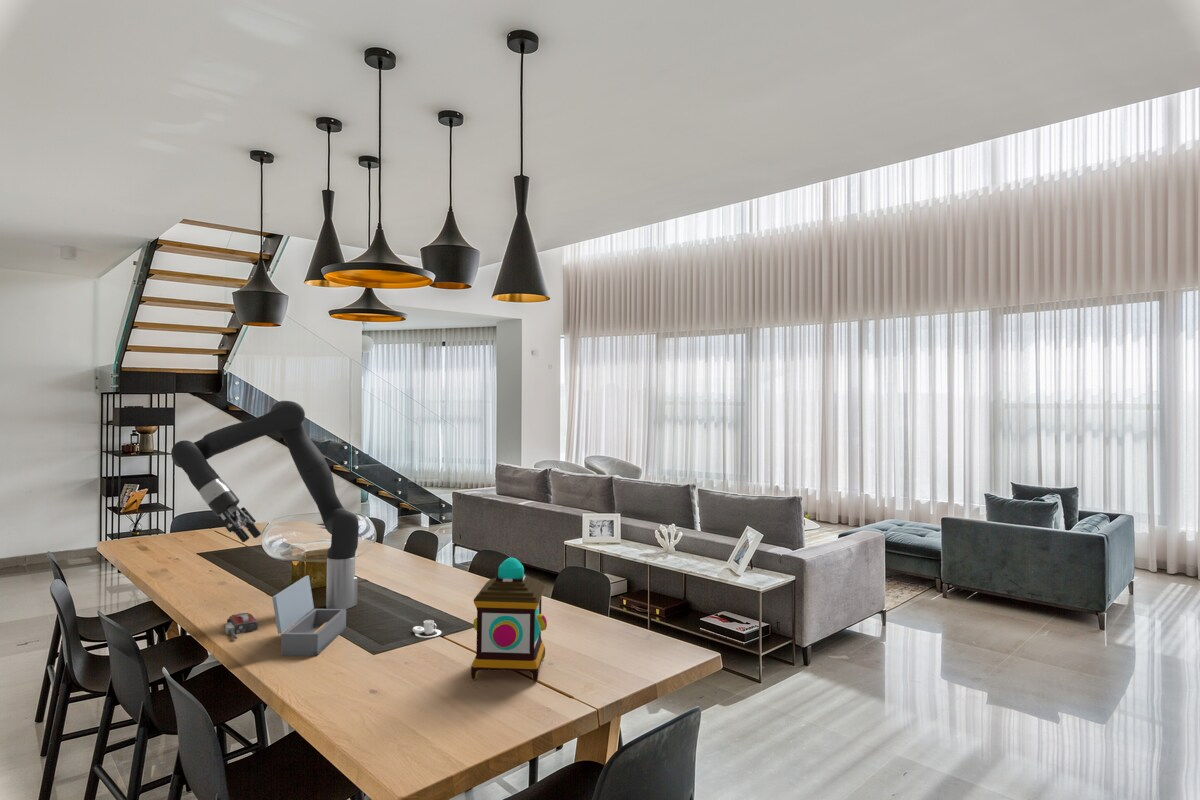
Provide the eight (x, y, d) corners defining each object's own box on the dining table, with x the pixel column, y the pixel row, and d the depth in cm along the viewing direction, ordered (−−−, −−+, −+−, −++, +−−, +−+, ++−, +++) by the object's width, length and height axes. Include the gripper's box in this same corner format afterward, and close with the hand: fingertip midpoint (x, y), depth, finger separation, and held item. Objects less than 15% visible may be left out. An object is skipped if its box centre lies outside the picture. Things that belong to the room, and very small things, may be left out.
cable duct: (281, 655, 195) (281, 634, 195) (313, 627, 219) (314, 608, 219) (317, 655, 195) (317, 634, 195) (345, 628, 219) (346, 609, 219)
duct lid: (281, 633, 195) (278, 633, 195) (314, 608, 219) (310, 608, 219) (275, 596, 195) (272, 597, 195) (308, 575, 219) (305, 575, 219)
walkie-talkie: (219, 625, 221) (231, 643, 205) (220, 611, 221) (231, 628, 205) (250, 620, 226) (263, 637, 210) (250, 607, 226) (264, 623, 210)
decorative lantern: (480, 654, 198) (482, 549, 198) (549, 656, 197) (551, 550, 198) (464, 683, 178) (466, 565, 178) (541, 685, 177) (543, 567, 178)
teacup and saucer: (408, 633, 216) (408, 620, 216) (430, 628, 222) (430, 615, 222) (424, 640, 210) (424, 627, 210) (446, 634, 216) (446, 621, 216)
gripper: (218, 490, 206) (253, 533, 206) (239, 487, 220) (271, 527, 220) (197, 506, 205) (232, 550, 205) (219, 502, 219) (252, 542, 219)
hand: (252, 538), depth 212 cm, fingers open, 8 cm apart
